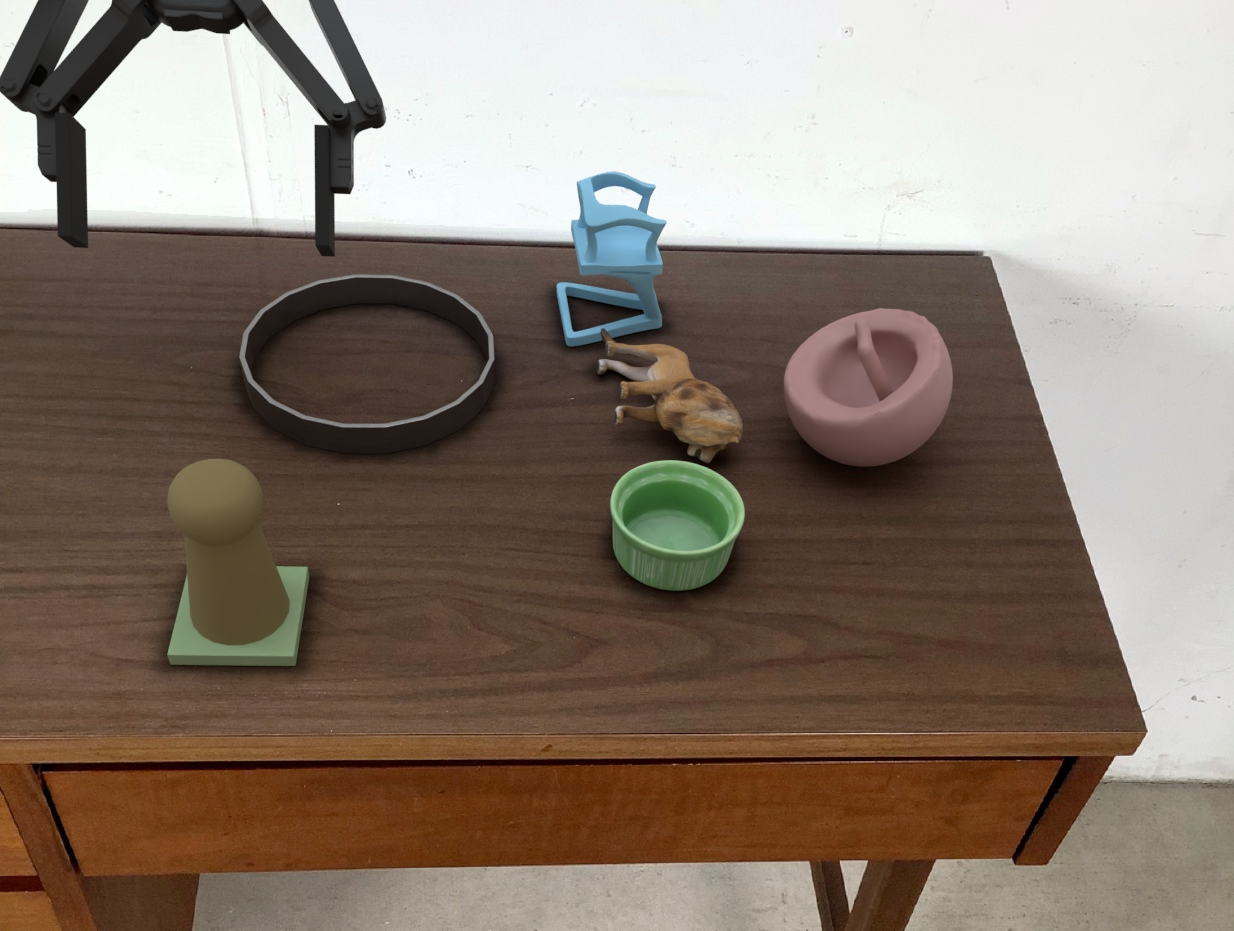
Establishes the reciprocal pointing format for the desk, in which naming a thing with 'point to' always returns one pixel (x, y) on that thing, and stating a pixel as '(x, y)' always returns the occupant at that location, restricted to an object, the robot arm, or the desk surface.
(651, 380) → the lion figurine
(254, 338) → the ring
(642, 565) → the ramekin
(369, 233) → the desk surface
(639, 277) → the chair
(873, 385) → the mortar and pestle
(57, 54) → the robot arm
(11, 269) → the desk surface
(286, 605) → the olive pawn
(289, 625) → the green mat
